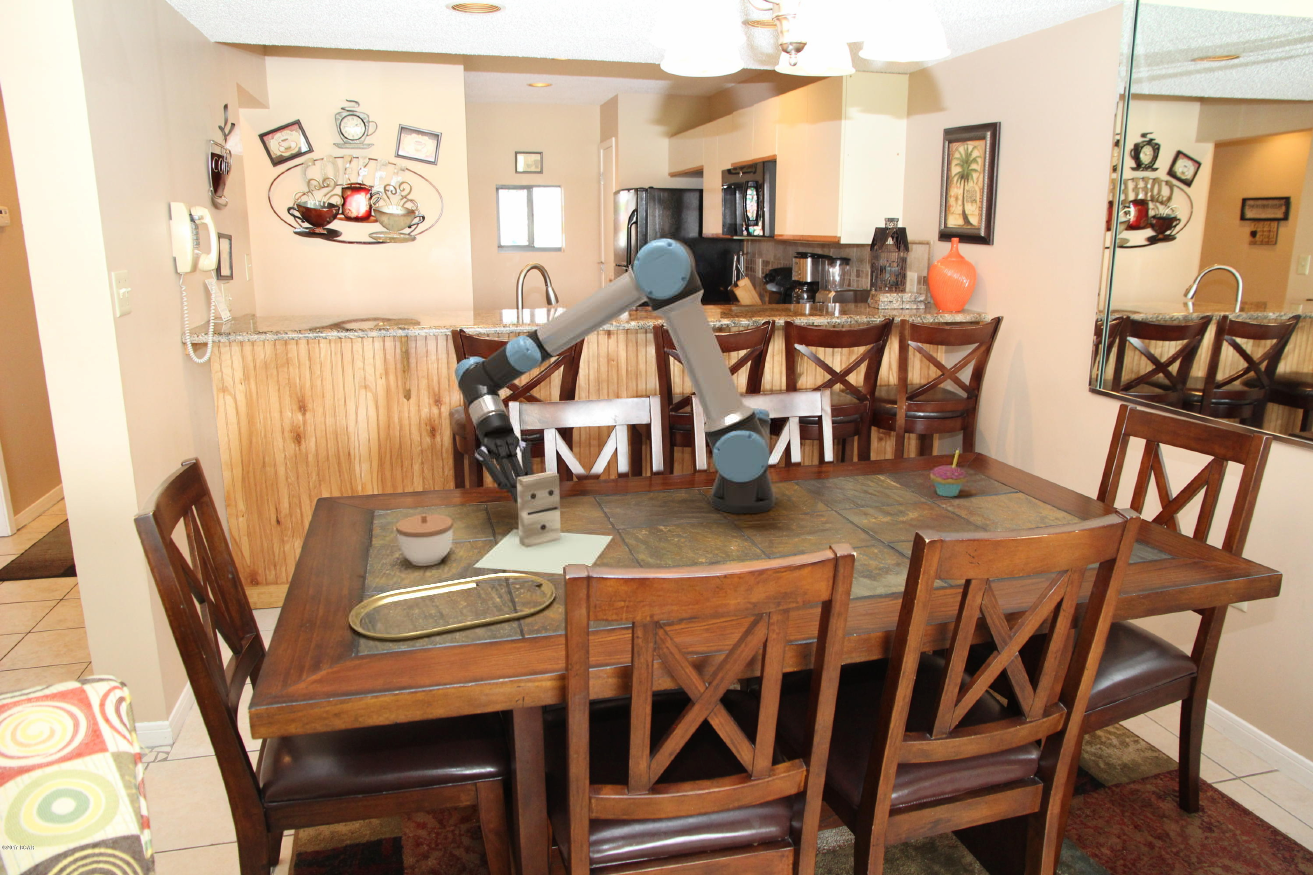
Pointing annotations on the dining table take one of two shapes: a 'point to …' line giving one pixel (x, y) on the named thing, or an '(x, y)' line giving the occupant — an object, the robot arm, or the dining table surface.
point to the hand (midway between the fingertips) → (529, 514)
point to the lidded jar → (425, 538)
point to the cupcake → (948, 478)
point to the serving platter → (440, 588)
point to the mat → (544, 553)
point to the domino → (538, 508)
